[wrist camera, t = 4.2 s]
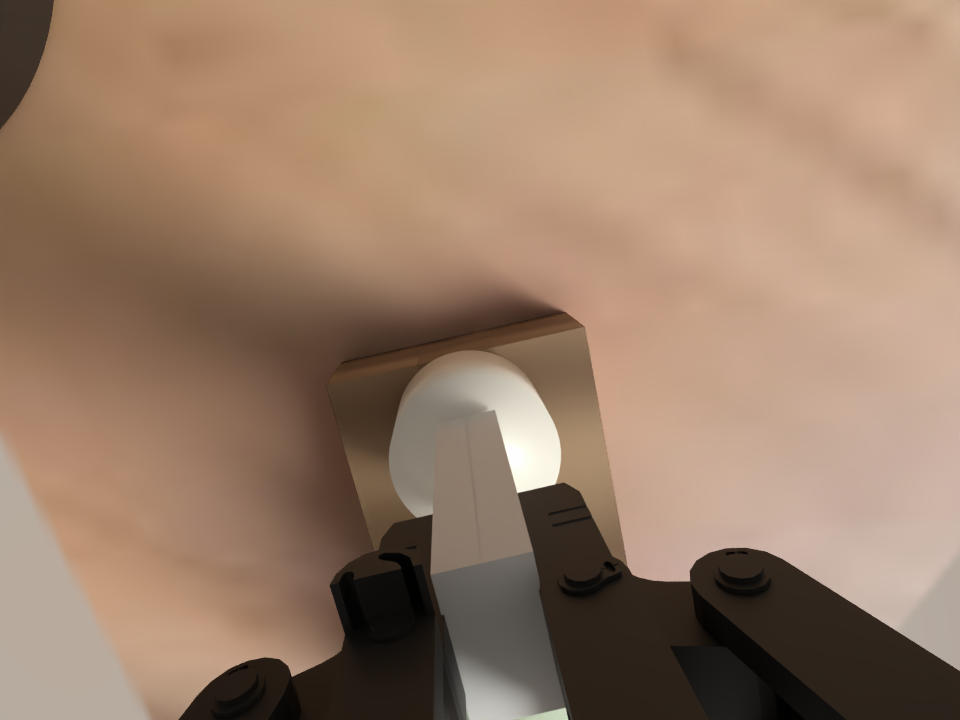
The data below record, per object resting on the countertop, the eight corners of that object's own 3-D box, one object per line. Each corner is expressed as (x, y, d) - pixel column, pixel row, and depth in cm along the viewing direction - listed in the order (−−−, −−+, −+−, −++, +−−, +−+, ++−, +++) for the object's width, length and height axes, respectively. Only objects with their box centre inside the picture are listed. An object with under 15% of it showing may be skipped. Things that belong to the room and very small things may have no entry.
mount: (342, 362, 21) (325, 385, 18) (565, 311, 21) (584, 326, 18) (440, 709, 24) (440, 776, 22) (630, 665, 25) (655, 726, 22)
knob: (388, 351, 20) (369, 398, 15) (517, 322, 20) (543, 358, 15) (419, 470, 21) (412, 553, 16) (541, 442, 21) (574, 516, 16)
